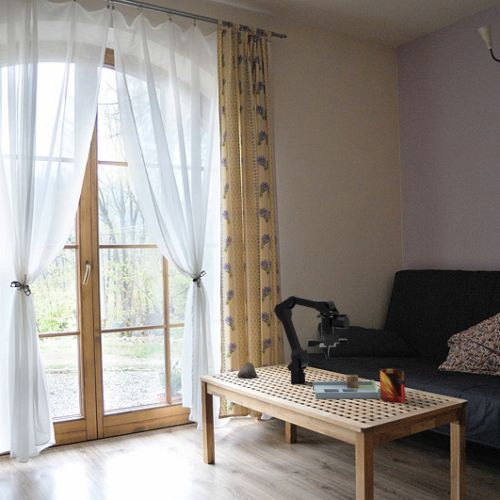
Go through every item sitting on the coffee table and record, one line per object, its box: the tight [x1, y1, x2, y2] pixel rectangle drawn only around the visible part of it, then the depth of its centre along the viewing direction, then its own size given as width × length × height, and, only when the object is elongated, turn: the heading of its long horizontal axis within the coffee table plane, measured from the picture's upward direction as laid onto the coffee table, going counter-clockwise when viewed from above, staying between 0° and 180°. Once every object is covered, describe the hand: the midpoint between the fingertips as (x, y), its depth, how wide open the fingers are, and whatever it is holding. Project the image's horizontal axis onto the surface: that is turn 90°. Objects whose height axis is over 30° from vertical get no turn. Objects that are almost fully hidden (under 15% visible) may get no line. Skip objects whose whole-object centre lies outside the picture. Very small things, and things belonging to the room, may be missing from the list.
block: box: [345, 374, 359, 388], centre depth 267 cm, size 5×5×5 cm
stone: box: [236, 362, 258, 379], centre depth 304 cm, size 10×8×10 cm
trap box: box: [312, 379, 381, 400], centre depth 263 cm, size 28×18×4 cm, turn 88°
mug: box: [379, 368, 406, 404], centre depth 249 cm, size 10×14×12 cm
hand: (328, 361), depth 276 cm, fingers closed
